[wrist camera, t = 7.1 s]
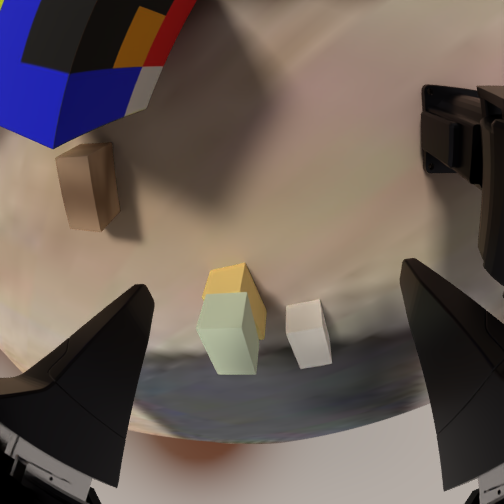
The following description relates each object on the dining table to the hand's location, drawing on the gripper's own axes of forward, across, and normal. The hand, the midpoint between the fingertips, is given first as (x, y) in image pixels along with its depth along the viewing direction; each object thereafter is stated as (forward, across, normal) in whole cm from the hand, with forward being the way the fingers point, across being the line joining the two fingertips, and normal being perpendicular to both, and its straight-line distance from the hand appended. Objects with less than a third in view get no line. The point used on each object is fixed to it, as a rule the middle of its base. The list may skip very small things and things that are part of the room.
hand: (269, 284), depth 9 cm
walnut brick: (+12, +14, -2) cm, 19 cm away
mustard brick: (+12, +5, +11) cm, 17 cm away
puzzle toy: (+12, +9, -13) cm, 20 cm away
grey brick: (+12, -1, +16) cm, 20 cm away
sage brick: (+9, +5, +11) cm, 15 cm away
